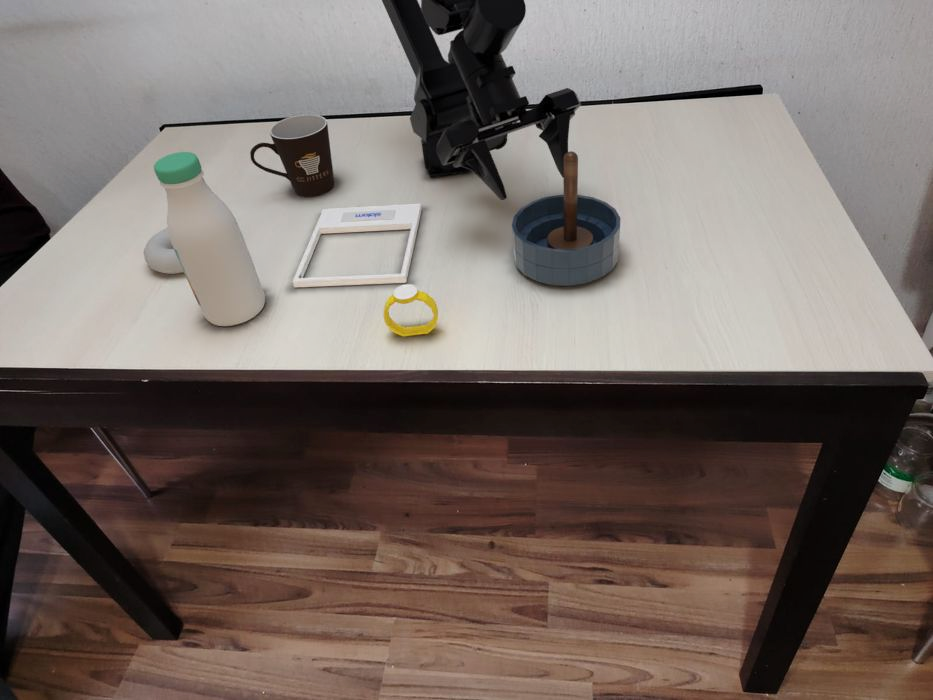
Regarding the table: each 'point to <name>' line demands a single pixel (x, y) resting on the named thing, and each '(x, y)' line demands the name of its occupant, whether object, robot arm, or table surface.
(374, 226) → the photo frame
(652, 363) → the table surface
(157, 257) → the donut
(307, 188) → the coffee mug
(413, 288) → the watch
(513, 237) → the bowl
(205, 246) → the milk bottle
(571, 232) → the wooden plunger
